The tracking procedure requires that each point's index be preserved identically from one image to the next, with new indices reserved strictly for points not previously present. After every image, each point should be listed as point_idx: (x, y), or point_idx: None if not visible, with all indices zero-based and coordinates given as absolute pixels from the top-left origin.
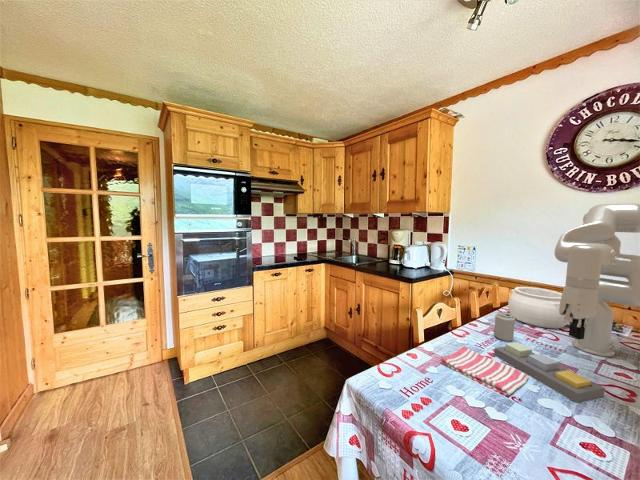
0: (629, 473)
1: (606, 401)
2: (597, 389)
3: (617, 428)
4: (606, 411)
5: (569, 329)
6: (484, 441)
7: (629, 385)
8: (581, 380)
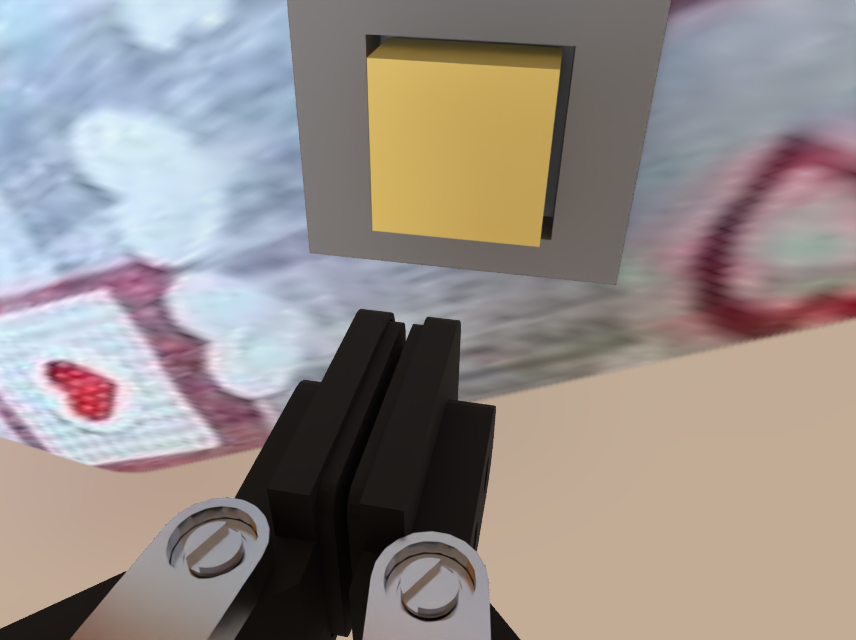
0: (112, 470)
1: None
2: (527, 274)
3: None
4: None
5: (318, 388)
6: None
7: None
8: (463, 217)
